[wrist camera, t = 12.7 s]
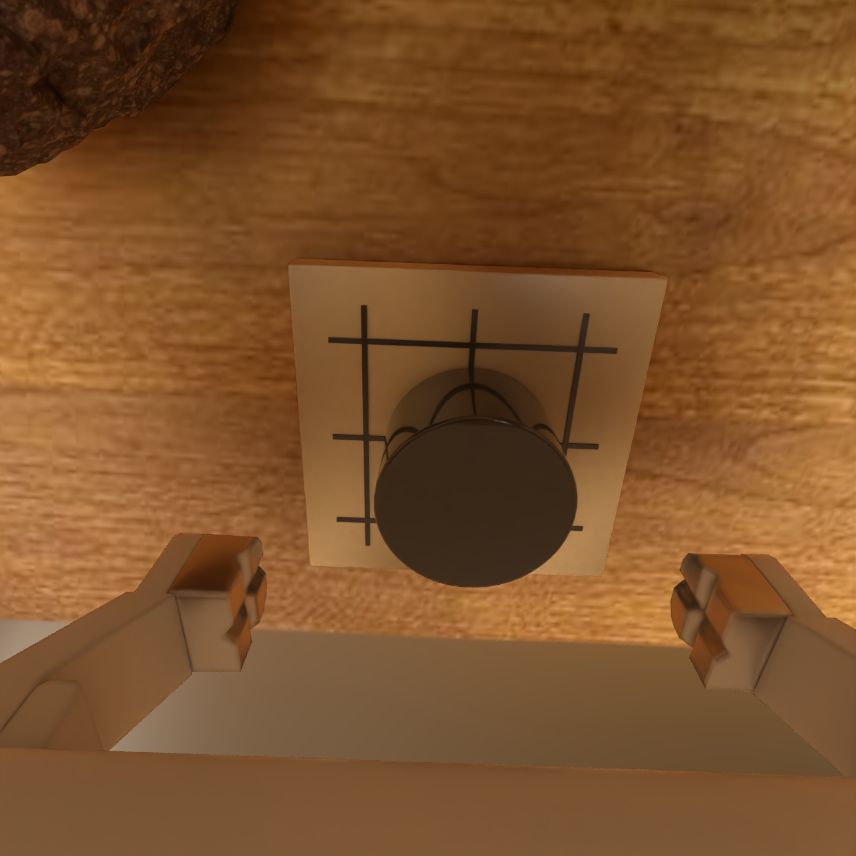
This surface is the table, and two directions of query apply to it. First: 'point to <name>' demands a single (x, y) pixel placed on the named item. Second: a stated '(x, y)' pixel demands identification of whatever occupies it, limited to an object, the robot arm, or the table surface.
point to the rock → (92, 66)
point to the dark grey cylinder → (473, 480)
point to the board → (454, 349)
